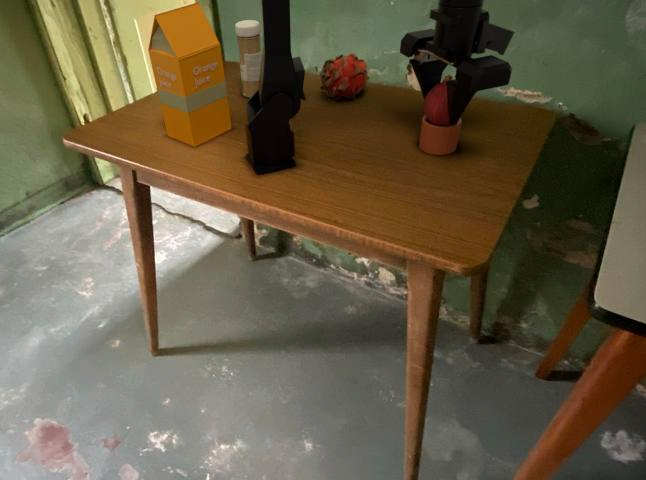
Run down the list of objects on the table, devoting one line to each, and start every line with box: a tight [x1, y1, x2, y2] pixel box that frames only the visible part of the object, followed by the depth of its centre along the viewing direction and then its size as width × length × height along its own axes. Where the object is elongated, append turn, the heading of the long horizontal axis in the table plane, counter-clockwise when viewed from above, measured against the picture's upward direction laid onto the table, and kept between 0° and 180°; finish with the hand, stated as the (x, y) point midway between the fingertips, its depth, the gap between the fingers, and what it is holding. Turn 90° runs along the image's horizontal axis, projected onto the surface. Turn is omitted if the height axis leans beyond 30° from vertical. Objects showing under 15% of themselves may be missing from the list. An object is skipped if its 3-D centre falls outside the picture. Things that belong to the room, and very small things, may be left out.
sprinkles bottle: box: [234, 19, 262, 99], centre depth 95 cm, size 5×5×13 cm
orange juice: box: [147, 1, 232, 148], centre depth 81 cm, size 8×9×20 cm
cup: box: [418, 114, 463, 156], centre depth 77 cm, size 6×6×4 cm
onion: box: [423, 74, 453, 127], centre depth 74 cm, size 6×6×8 cm
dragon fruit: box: [319, 53, 370, 101], centre depth 94 cm, size 8×8×12 cm
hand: (441, 115), depth 75 cm, fingers closed on onion, 6 cm apart
